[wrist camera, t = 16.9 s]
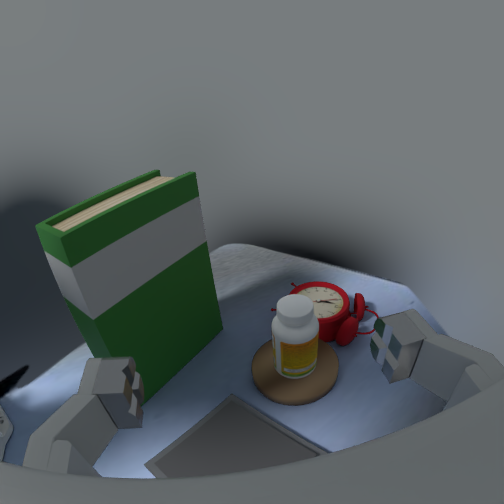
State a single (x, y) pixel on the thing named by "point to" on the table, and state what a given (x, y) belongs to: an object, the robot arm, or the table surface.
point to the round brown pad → (295, 389)
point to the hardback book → (138, 273)
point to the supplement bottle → (295, 336)
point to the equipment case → (231, 444)
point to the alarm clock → (333, 311)
